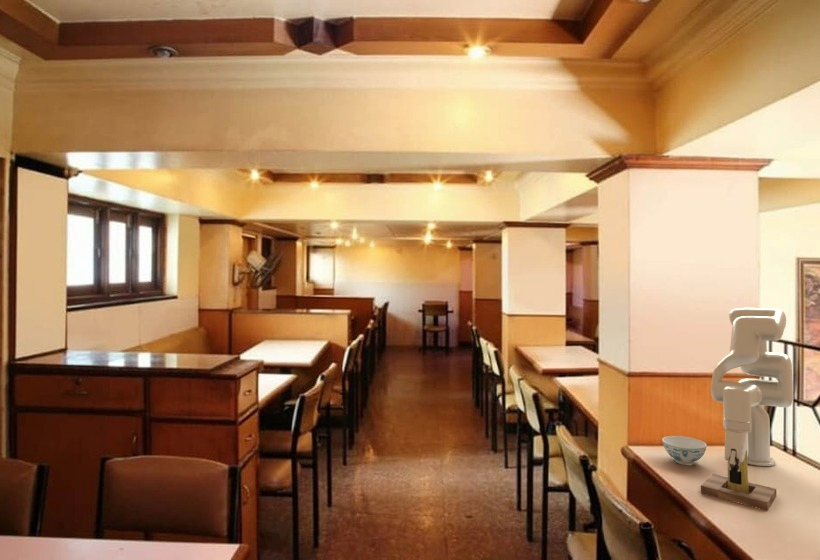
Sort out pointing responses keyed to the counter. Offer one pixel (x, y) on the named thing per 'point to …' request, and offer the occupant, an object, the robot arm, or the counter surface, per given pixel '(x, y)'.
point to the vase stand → (757, 498)
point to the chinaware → (684, 449)
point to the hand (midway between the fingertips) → (738, 479)
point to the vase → (744, 470)
